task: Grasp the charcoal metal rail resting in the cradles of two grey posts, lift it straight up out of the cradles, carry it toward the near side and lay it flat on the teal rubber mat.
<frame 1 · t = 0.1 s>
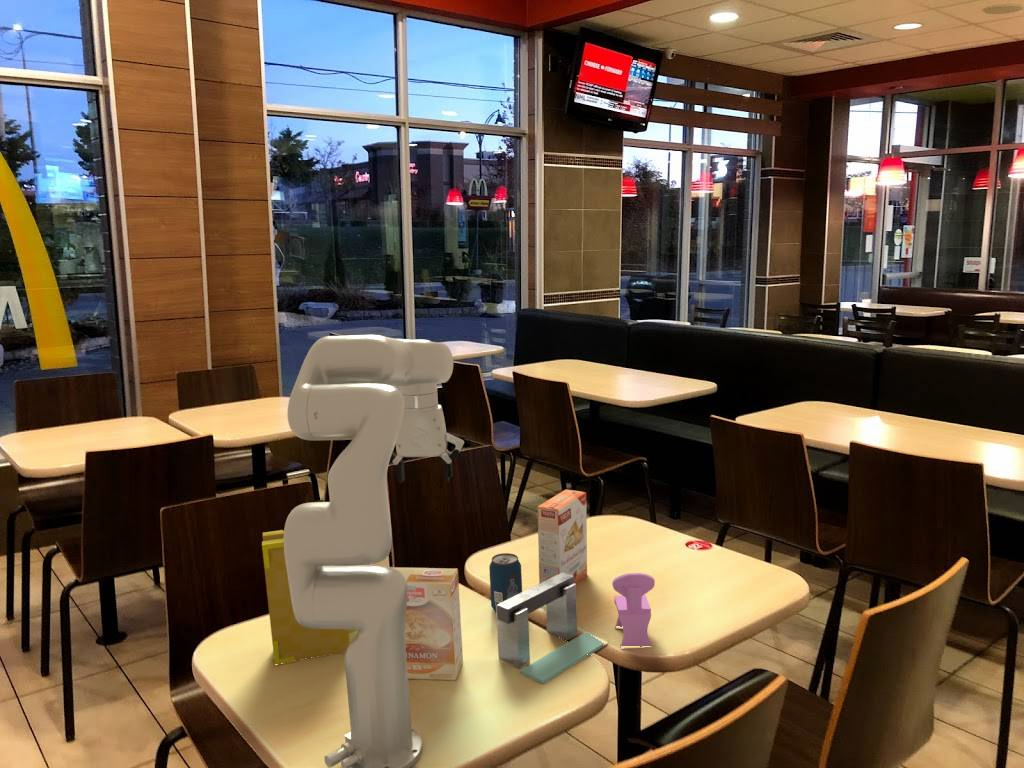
hand: (424, 480, 167), 31 cm above the table, tool pointing down, fingers open, 9 cm apart
soda can: (507, 610, 176), on the table
toy chair: (633, 638, 162), on the table
post far: (562, 632, 165), on the table
book: (318, 650, 162), on the table
coffeecake box: (421, 670, 153), on the table
rail: (537, 604, 158), point 9 cm above the table, touching post far, post near arm
cracker box: (564, 584, 188), on the table
mat: (565, 658, 155), on the table
post near arm: (514, 660, 155), on the table
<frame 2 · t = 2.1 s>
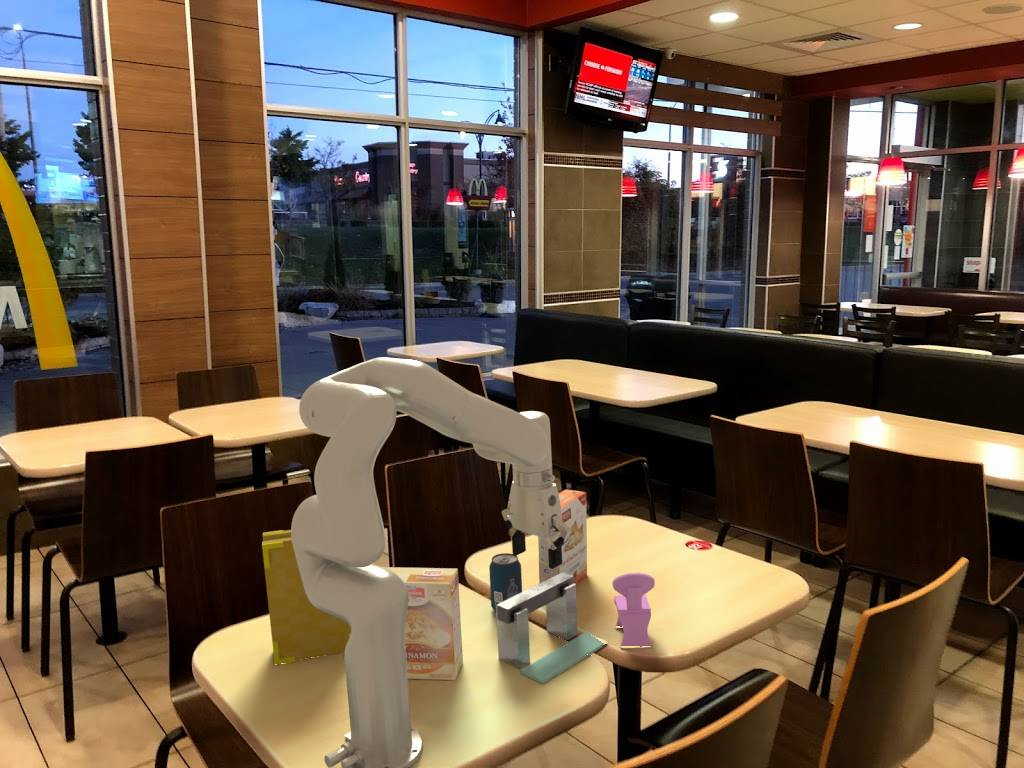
hand: (537, 559, 157), 18 cm above the table, tool pointing down, fingers open, 9 cm apart
nothing on the table moved.
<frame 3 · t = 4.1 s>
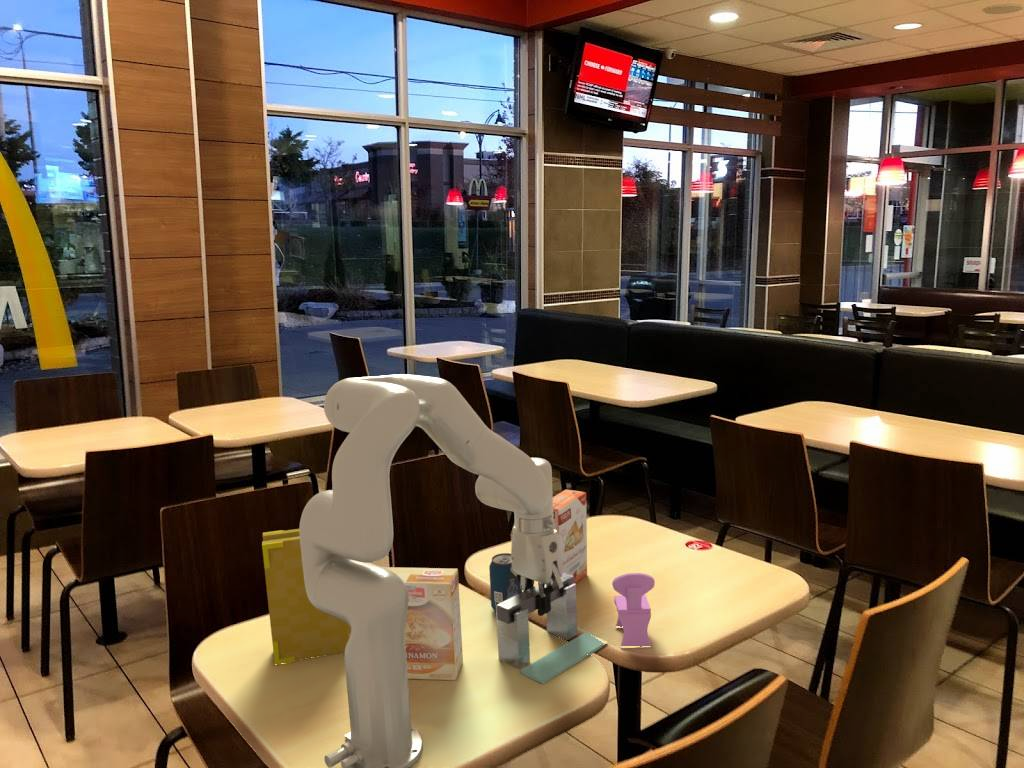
hand: (537, 609, 158), 8 cm above the table, tool pointing down, fingers closed on rail, 3 cm apart
rail: (537, 604, 158), point 9 cm above the table, touching gripper, post far, post near arm
everything else where it was.
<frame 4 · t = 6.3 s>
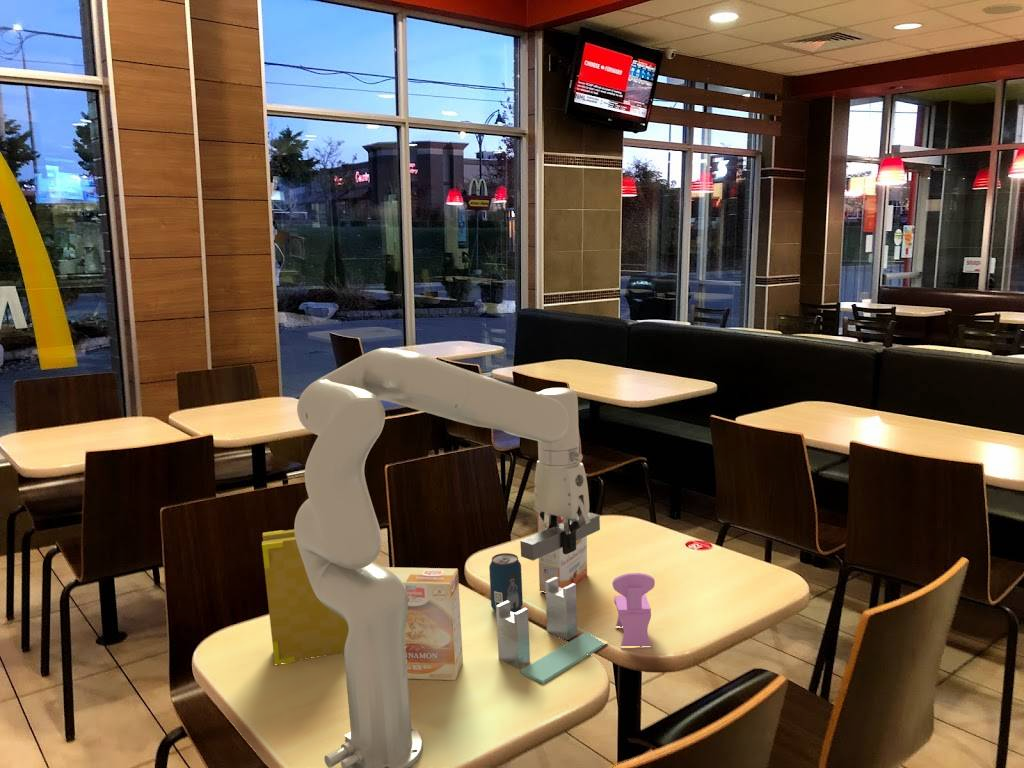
hand: (562, 548, 151), 22 cm above the table, tool pointing down, fingers closed on rail, 3 cm apart
rail: (561, 542, 151), point 24 cm above the table, touching gripper
everything else where it was.
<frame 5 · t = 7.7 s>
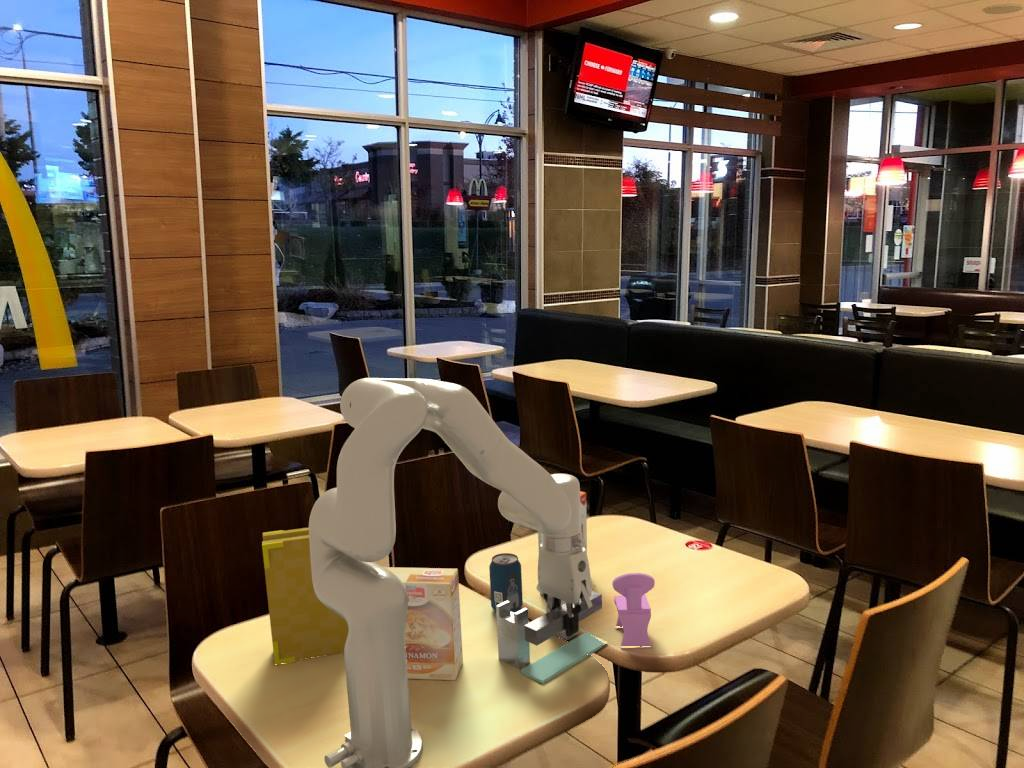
hand: (564, 629, 154), 6 cm above the table, tool pointing down, fingers closed on rail, 3 cm apart
rail: (564, 623, 154), point 7 cm above the table, touching gripper
everything else where it was.
when the fingers open (1 cm above the table, at t = 8.8 s): rail drops 2 cm, resting on mat.
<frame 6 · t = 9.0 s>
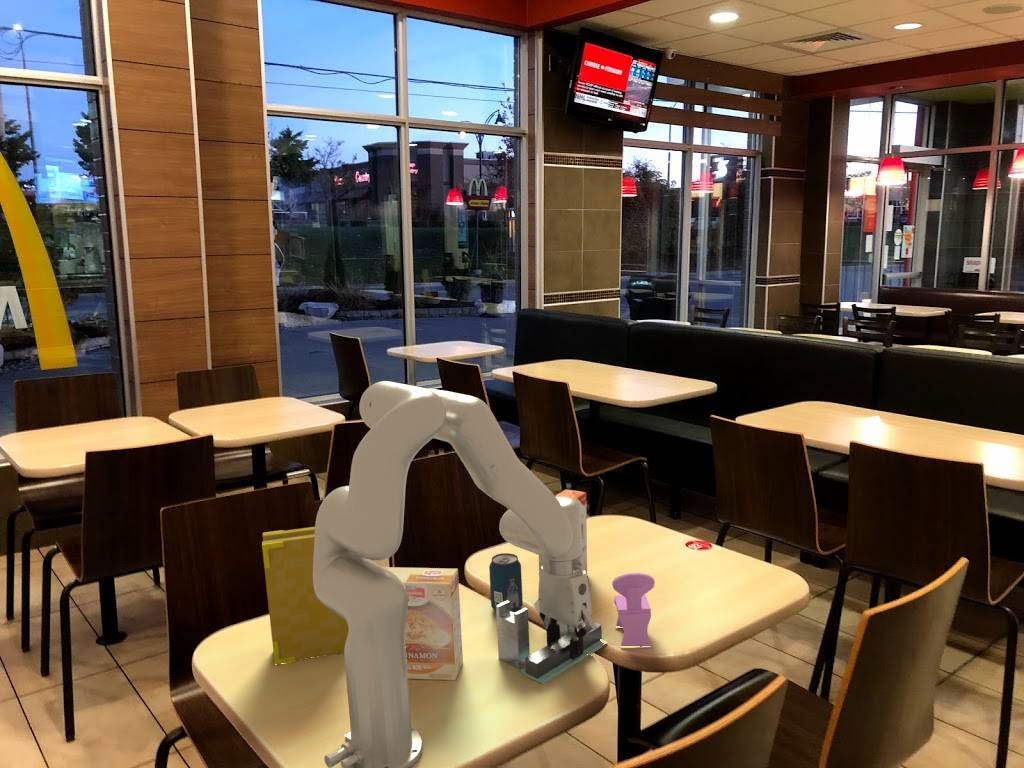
hand: (565, 650, 155), 2 cm above the table, tool pointing down, fingers open, 5 cm apart
rail: (565, 655, 155), point 1 cm above the table, touching mat
everything else where it was.
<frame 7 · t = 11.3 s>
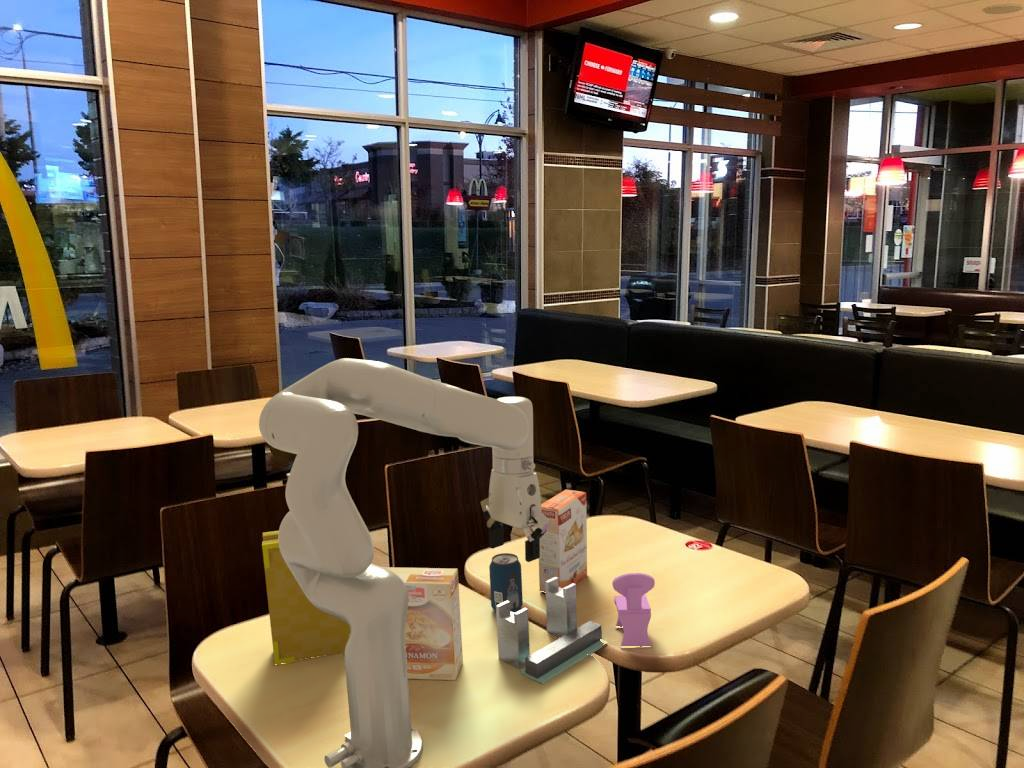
hand: (514, 553, 150), 22 cm above the table, tool pointing down, fingers open, 9 cm apart
nothing on the table moved.
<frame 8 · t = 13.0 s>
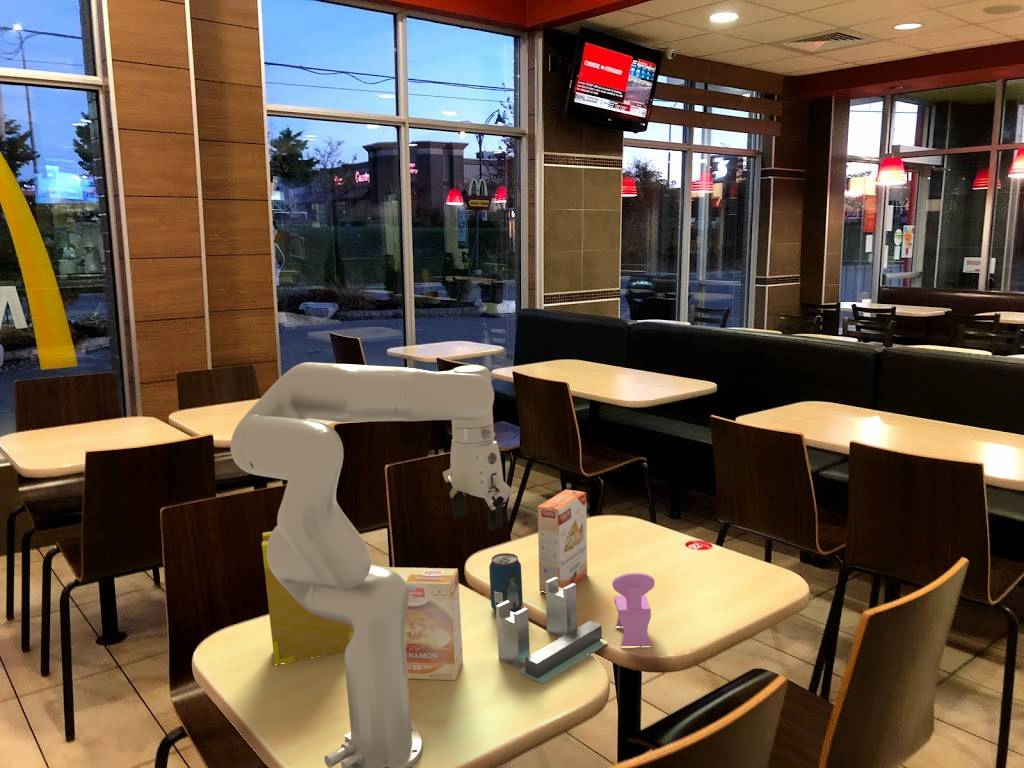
hand: (477, 522, 150), 28 cm above the table, tool pointing down, fingers open, 9 cm apart
nothing on the table moved.
at the end: rail inside the target area on the mat (0.1 cm from its centre), point 0.6 cm above the mat's base; rail tilted 0°; the gripper is holding nothing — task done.
